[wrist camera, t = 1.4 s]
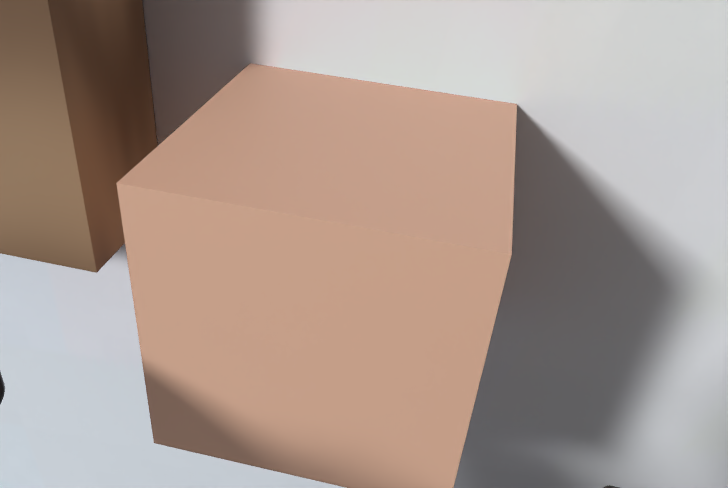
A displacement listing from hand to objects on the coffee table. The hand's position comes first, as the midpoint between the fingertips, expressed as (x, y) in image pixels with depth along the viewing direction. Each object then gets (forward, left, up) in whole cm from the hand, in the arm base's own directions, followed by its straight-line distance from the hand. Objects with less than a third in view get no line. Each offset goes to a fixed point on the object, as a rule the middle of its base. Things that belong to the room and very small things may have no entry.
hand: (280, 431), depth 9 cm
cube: (0, 0, -7) cm, 7 cm away
